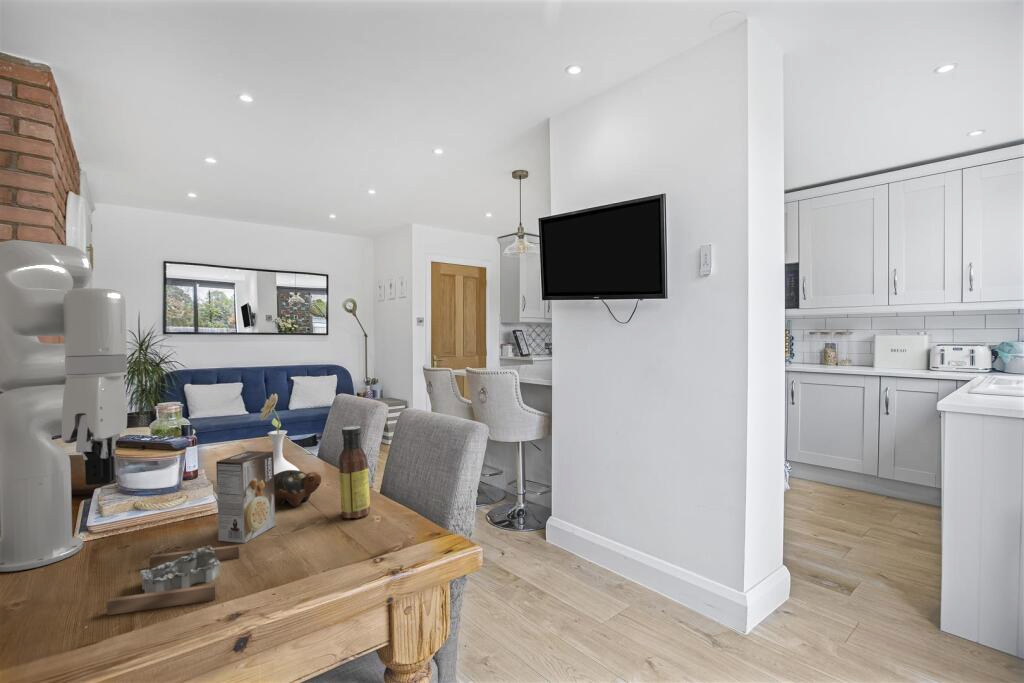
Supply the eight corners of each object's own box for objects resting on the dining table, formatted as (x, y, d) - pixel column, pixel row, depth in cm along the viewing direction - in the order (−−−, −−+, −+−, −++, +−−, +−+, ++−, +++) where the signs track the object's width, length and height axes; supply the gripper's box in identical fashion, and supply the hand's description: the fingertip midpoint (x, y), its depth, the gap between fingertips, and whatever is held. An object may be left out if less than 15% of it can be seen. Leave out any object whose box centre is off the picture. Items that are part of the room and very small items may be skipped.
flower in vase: (259, 477, 142) (257, 390, 142) (302, 473, 145) (301, 388, 145) (250, 491, 130) (248, 396, 129) (297, 487, 133) (295, 394, 133)
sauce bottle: (373, 509, 115) (371, 424, 115) (366, 519, 109) (364, 429, 108) (344, 510, 115) (343, 424, 114) (335, 520, 109) (334, 430, 108)
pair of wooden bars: (107, 615, 72) (106, 601, 72) (152, 566, 88) (151, 555, 88) (215, 599, 76) (215, 586, 76) (240, 555, 92) (240, 544, 92)
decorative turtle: (313, 510, 115) (313, 476, 115) (249, 510, 115) (248, 476, 115) (329, 496, 125) (329, 465, 125) (270, 497, 125) (269, 465, 125)
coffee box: (250, 523, 107) (248, 450, 107) (276, 526, 106) (275, 451, 106) (216, 541, 98) (215, 460, 98) (245, 544, 97) (243, 462, 97)
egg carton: (214, 566, 88) (214, 543, 88) (222, 582, 83) (222, 557, 83) (140, 585, 82) (139, 560, 82) (142, 603, 76) (142, 577, 76)
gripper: (93, 365, 84) (96, 473, 85) (38, 371, 70) (42, 500, 70) (145, 364, 87) (148, 468, 87) (101, 369, 72) (105, 494, 72)
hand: (100, 482), depth 78 cm, fingers closed
